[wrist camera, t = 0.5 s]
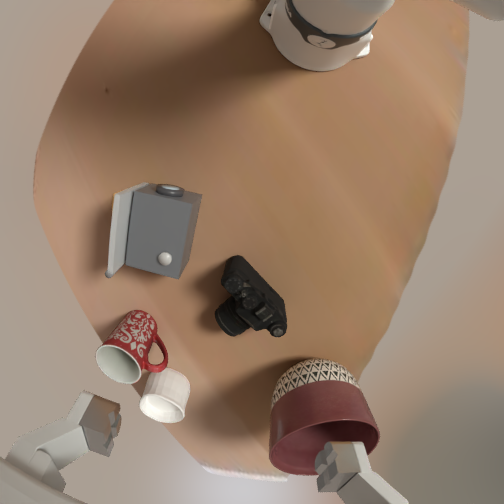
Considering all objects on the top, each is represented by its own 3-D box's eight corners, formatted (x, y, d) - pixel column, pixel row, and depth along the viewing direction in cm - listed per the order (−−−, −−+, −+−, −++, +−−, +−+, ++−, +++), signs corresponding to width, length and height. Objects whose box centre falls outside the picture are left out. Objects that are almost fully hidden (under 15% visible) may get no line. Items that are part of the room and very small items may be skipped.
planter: (322, 322, 57) (348, 402, 37) (367, 372, 62) (395, 443, 42) (248, 371, 62) (245, 452, 42) (300, 411, 67) (309, 483, 47)
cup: (145, 363, 62) (132, 393, 53) (187, 366, 62) (179, 397, 53) (154, 392, 65) (144, 421, 56) (194, 395, 65) (187, 425, 56)
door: (140, 181, 48) (110, 192, 37) (149, 183, 48) (120, 195, 37) (131, 250, 52) (103, 276, 41) (138, 252, 52) (112, 279, 41)
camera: (197, 282, 55) (186, 310, 45) (242, 247, 52) (238, 271, 43) (246, 332, 58) (244, 365, 49) (290, 302, 56) (295, 333, 47)
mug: (120, 334, 59) (96, 374, 47) (122, 300, 56) (93, 338, 44) (175, 351, 60) (159, 396, 48) (180, 318, 57) (163, 362, 45)
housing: (152, 177, 48) (133, 184, 40) (203, 188, 49) (193, 198, 41) (142, 248, 52) (123, 266, 44) (188, 260, 53) (177, 280, 45)
